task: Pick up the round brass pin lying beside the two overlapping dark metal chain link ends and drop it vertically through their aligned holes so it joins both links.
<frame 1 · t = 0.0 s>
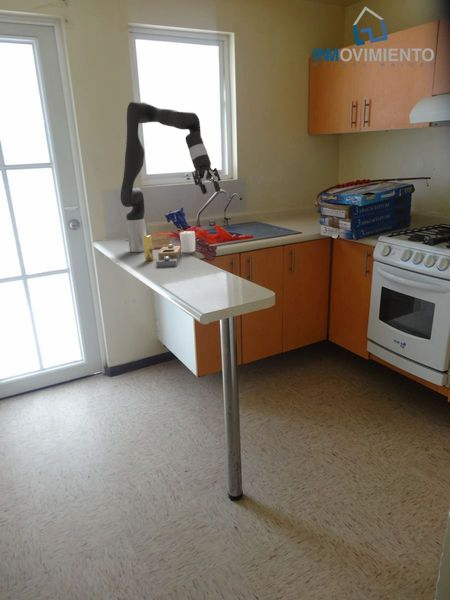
hand: (212, 192, 190), 31 cm above the worktop, tool tilted 20°, fingers open, 8 cm apart
white cup: (188, 251, 227), on the worktop
brass pin: (149, 260, 212), on the worktop
chain link ends: (169, 261, 208), on the worktop
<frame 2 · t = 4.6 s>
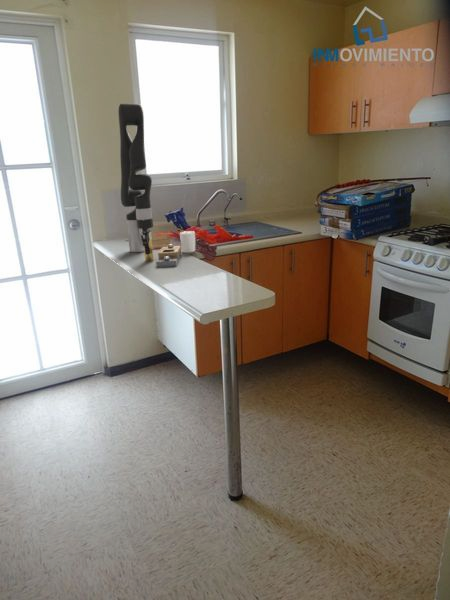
hand: (148, 252, 211), 4 cm above the worktop, tool pointing down, fingers closed on brass pin, 4 cm apart
brass pin: (149, 260, 212), on the worktop, touching gripper
everything else where it was.
when the fingers open (7 cm above the worktop, at t = 9.8 s): brass pin drops 3 cm, resting in chain link ends.
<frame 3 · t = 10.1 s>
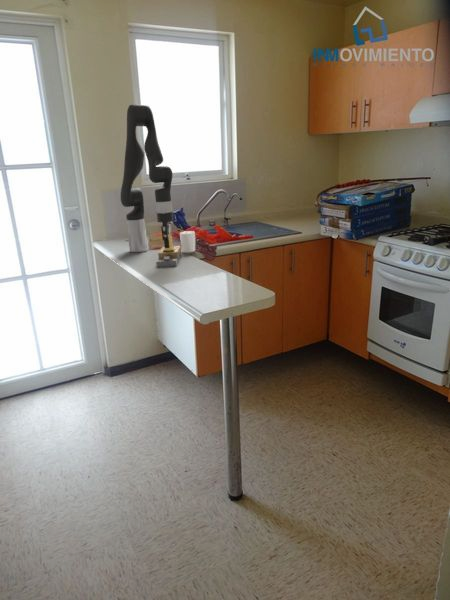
hand: (168, 246, 205), 7 cm above the worktop, tool pointing down, fingers open, 6 cm apart
brass pin: (169, 261, 208), resting in chain link ends
everything else where it was.
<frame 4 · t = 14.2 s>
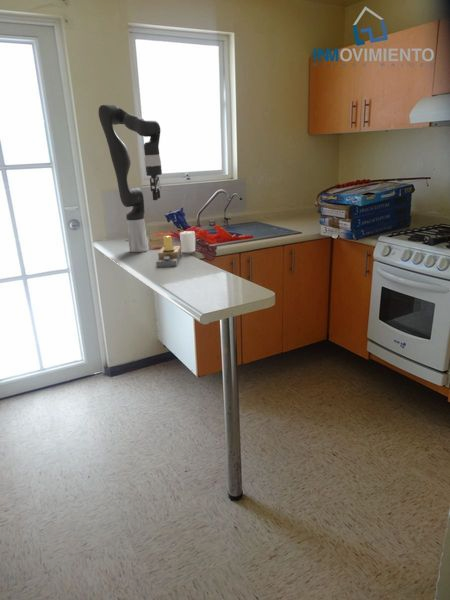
hand: (156, 199, 213), 28 cm above the worktop, tool pointing down, fingers open, 8 cm apart
nothing on the worktop moved.
at the end: brass pin 0.0 cm off-centre on the chain link ends, point 0.0 cm above the chain link ends's base; brass pin tilted 0°; the gripper is holding nothing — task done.
